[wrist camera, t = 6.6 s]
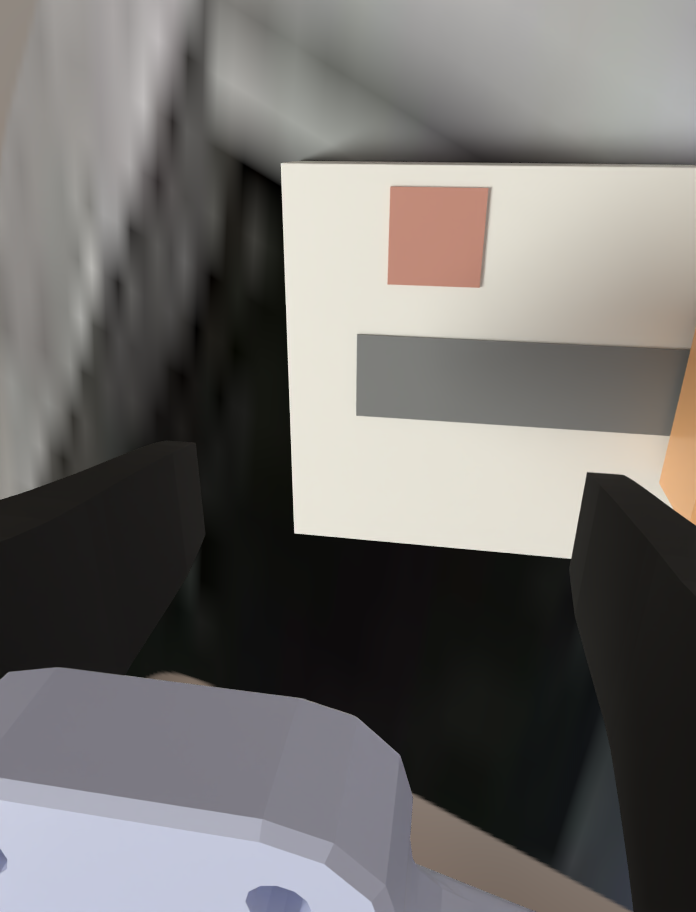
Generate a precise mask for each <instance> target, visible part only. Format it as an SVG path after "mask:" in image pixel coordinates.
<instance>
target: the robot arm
mask: <svg viewBox="0 0 696 912" xmlns="http://www.w3.org/2000/svg"><path fill="white" fill-rule="evenodd" d="M204 536H205V527H204V518H203V508H202V499H201V489H200V479H199V470H198V460H197V451H196V443H191V442H177V441H162V442H157V443H154V444H150V445H147V446H145V447H142V448H139V449H136V450H134V451H131V452H128V453H126V454H123V455H121V456H118V457H116V458H113V459H111V460H108V461H106V462H104V463H101V464H99V465H96V466H94V467H91V468H89V469H86V470H84V471H81V472H79V473H76V474H73V475H71V476H68V477H65V478H63V479H60V480H57V481H54V482H52V483H49V484H46V485H43V486H41V487H38V488H35V489H33V490H30V491H27V492H24V493H21V494H18V495H15V496H11V497H8V498H5V499H2V500H0V912H535V911H533V910H530V909H528V908H525V907H523V906H520V905H518V904H515V903H513V902H510V901H508V900H505V899H503V898H500V897H498V896H495V895H493V894H490V893H488V892H485V891H483V890H480V889H478V888H475V887H473V886H470V885H468V884H465V883H463V882H460V881H458V880H455V879H453V878H450V877H448V876H445V875H443V874H440V873H438V872H435V871H433V870H430V869H428V868H425V867H423V866H420V865H418V864H415V862H414V860H413V858H412V851H411V844H410V832H411V818H412V804H413V796H412V793H411V789H410V786H409V783H408V780H407V776H406V773H405V770H404V767H403V763H402V760H401V757H400V755H399V754H398V753H397V752H396V751H395V750H394V749H392V748H391V747H390V746H389V745H388V744H387V743H386V742H384V741H383V740H382V739H381V738H380V737H379V736H378V735H377V734H375V733H374V732H373V731H372V730H371V729H370V728H369V727H367V726H366V725H365V724H364V723H363V722H362V721H361V720H359V719H358V718H357V717H355V716H353V715H350V714H347V713H344V712H341V711H338V710H335V709H332V708H329V707H326V706H323V705H320V704H317V703H314V702H311V701H308V700H305V699H302V698H295V697H287V696H279V695H272V694H264V693H256V692H248V691H241V690H233V689H225V688H217V687H210V686H202V685H194V684H187V683H178V682H171V681H163V680H156V679H148V678H140V677H132V676H125V674H126V672H127V671H128V669H129V667H130V666H131V664H132V662H133V661H134V659H135V658H136V656H137V654H138V653H139V651H140V650H141V648H142V647H143V645H144V643H145V642H146V640H147V639H148V637H149V636H150V634H151V633H152V631H153V629H154V628H155V626H156V625H157V623H158V622H159V620H160V619H161V617H162V615H163V614H164V612H165V611H166V609H167V608H168V606H169V604H170V603H171V601H172V600H173V598H174V596H175V595H176V593H177V592H178V590H179V589H180V587H181V585H182V584H183V582H184V580H185V579H186V577H187V575H188V573H189V571H190V569H191V567H192V564H193V562H194V560H195V558H196V556H197V553H198V551H199V548H200V546H201V543H202V541H203V539H204ZM569 570H570V579H571V588H572V597H573V604H574V612H575V618H576V621H577V625H578V629H579V633H580V637H581V640H582V644H583V648H584V651H585V655H586V658H587V662H588V666H589V669H590V673H591V676H592V680H593V683H594V687H595V691H596V694H597V698H598V701H599V705H600V708H601V712H602V716H603V719H604V723H605V727H606V731H607V736H608V740H609V745H610V749H611V755H612V762H613V768H614V774H615V780H616V787H617V793H618V799H619V805H620V813H621V820H622V827H623V834H624V841H625V848H626V855H627V862H628V870H629V878H630V886H631V894H632V902H633V911H634V912H696V525H694V524H693V523H692V522H690V521H689V520H687V519H686V518H685V517H683V516H682V515H680V514H679V513H678V512H676V511H675V510H674V509H672V508H671V507H669V506H668V505H667V504H665V503H664V502H663V501H661V500H660V499H659V498H657V497H656V496H655V495H653V494H652V493H650V492H649V491H648V490H646V489H645V488H644V487H642V486H641V485H639V484H638V483H636V482H635V481H633V480H632V479H630V478H629V477H627V476H625V475H621V474H607V473H594V472H587V474H586V480H585V485H584V491H583V496H582V502H581V507H580V513H579V519H578V524H577V530H576V535H575V541H574V546H573V552H572V557H571V563H570V568H569Z"/></svg>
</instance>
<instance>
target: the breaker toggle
mask: <svg viewBox="0 0 696 912" xmlns="http://www.w3.org/2000/svg"><path fill="white" fill-rule="evenodd" d="M659 484H660V486H661V488H662V489H663V491H664V493H665V495H666V497H667V498H668V500H669V502H670V504H671V506H672V507H673V509H674V510H675V511H676V512H678V513H679V514H680V515H682V516H683V517H685V518H686V519H687V520H689V521H690V522H692V523H693V524H694V525H696V329H695V333H694V337H693V341H692V346H691V350H690V354H689V358H688V363H687V367H686V371H685V375H684V379H683V384H682V388H681V392H680V396H679V401H678V405H677V409H676V413H675V417H674V422H673V426H672V430H671V434H670V439H669V443H668V447H667V451H666V455H665V460H664V464H663V468H662V472H661V477H660V481H659Z"/></svg>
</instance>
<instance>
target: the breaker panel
mask: <svg viewBox="0 0 696 912" xmlns="http://www.w3.org/2000/svg"><path fill="white" fill-rule="evenodd" d="M281 178H282V206H283V233H284V261H285V288H286V315H287V343H288V370H289V398H290V425H291V453H292V480H293V507H294V533H298V534H309V535H320V536H331V537H341V538H352V539H363V540H374V541H385V542H396V543H407V544H418V545H429V546H439V547H450V548H461V549H472V550H483V551H494V552H505V553H516V554H527V555H538V556H548V557H559V558H570V559H571V557H572V552H573V546H574V541H575V535H576V530H577V524H578V519H579V513H580V507H581V502H582V496H583V491H584V485H585V480H586V474H587V472H594V473H607V474H621V475H625V476H627V477H629V478H630V479H632V480H633V481H635V482H636V483H638V484H639V485H641V486H642V487H644V488H645V489H646V490H648V491H649V492H650V493H652V494H653V495H655V496H656V497H657V498H659V499H660V500H661V501H663V502H664V503H665V504H667V505H668V506H669V507H671V508H672V509H673V507H672V506H671V504H670V502H669V500H668V498H667V497H666V495H665V493H664V491H663V489H662V488H661V486H660V484H659V481H660V477H661V472H662V468H663V464H664V460H665V455H666V451H667V447H668V443H669V439H670V434H671V430H672V426H673V422H674V417H675V413H676V409H677V405H678V401H679V396H680V392H681V388H682V384H683V379H684V375H685V371H686V367H687V363H688V358H689V354H690V350H691V346H692V341H693V337H694V333H695V329H696V165H659V164H559V163H459V162H359V161H294V162H287V163H281Z"/></svg>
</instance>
